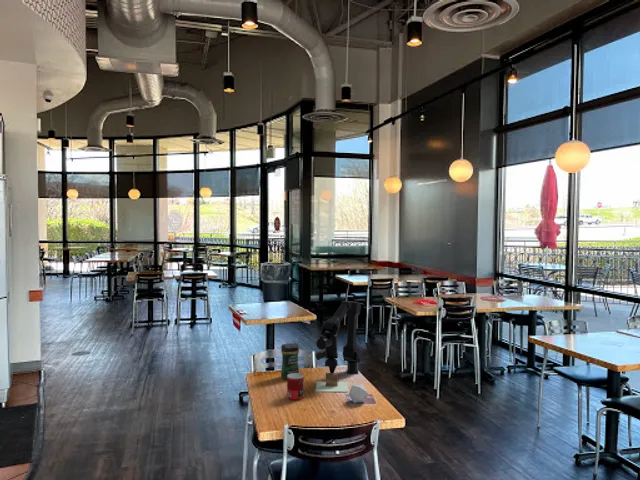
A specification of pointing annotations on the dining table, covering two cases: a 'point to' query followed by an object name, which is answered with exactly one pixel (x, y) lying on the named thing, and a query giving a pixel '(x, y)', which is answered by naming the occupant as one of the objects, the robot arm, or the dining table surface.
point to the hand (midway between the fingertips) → (331, 375)
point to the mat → (331, 387)
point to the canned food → (295, 386)
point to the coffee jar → (289, 359)
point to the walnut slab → (331, 379)
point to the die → (358, 393)
